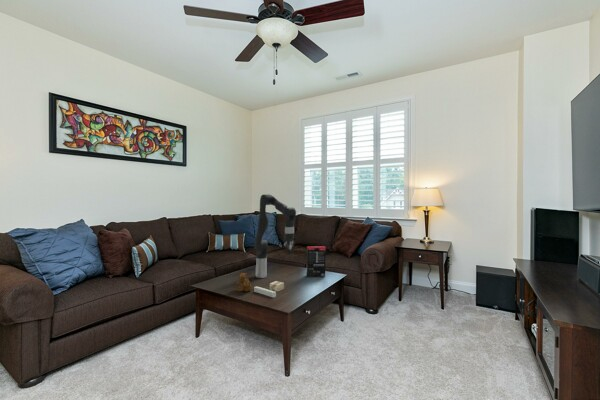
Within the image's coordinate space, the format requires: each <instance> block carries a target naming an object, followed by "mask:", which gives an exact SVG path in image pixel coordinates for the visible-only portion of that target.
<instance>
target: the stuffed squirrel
mask: <svg viewBox="0 0 600 400" xmlns="http://www.w3.org/2000/svg"><path fill="white" fill-rule="evenodd" d="M247 275H248V273H247V272H241V273H238V276H237V278H236V279H239V280H237V281H236V285H238V287H237V288H235V291H237V292H249V291H252V289H253V288H252V283H251V282H250V279H249V278H247V277H246V276H247Z"/></svg>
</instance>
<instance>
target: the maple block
mask: <svg viewBox="0 0 600 400" xmlns="http://www.w3.org/2000/svg"><path fill="white" fill-rule="evenodd" d="M284 289H285V283H284V282H283V281H278V280H275V281H272V282H270V283H269V290H271V291H275V292H276V293H277V292H280V291H282V290H284Z"/></svg>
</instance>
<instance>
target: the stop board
mask: <svg viewBox="0 0 600 400" xmlns="http://www.w3.org/2000/svg"><path fill="white" fill-rule="evenodd" d="M253 290H254V292H255V293H258V294H260V295H263V296H267V297H270V298H275V297H277V291H273V290H270V289H268V288H264V287H260V286H256V285H255V286H254V287H253Z"/></svg>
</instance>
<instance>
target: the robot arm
mask: <svg viewBox="0 0 600 400" xmlns="http://www.w3.org/2000/svg"><path fill="white" fill-rule="evenodd" d="M259 199H260V200H259V213H258V221H257V231H256V236H255V240H254V246H253V247H254V250H256V251H258V253H257V254H256V255H255V256H256V257H255V259H256V262H255V263H256V265H255V277H256V278H258V279H262V278H263V279H264V278H267V277H268V276H267V268H268V267H267V266H268V263H267V259H268V258H267V257H268V251H269V250H268V248H269V247H268V246H269V245H268V241H267V240H266V239H263V236H264V234H265V233H266V231H267V230H268V228H269V222H270V220H269V216H268V214H267V211H266V208H267V206H270V205H271V206H274V208H275V209H276V210H277V211H279V212H280V213H281V214H282V215H283V216H285V217H288V219H287V218H286V219H285V220H284V239H285V242H284V243H283V246H284V247H285V250H287V255H291V254H292V249H294V247H295V244H296V241H295V240H294V239H295V219H296V215H297V210H296V208H295V207H288V205H286V204H285V203H283V202H281V201H279V200H278V199H277V198H276V197H275V196H273V195H272V194H262V195H261V196H260V197H259Z"/></svg>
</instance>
